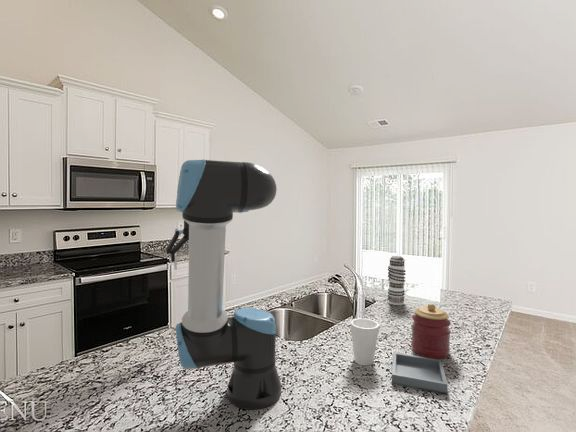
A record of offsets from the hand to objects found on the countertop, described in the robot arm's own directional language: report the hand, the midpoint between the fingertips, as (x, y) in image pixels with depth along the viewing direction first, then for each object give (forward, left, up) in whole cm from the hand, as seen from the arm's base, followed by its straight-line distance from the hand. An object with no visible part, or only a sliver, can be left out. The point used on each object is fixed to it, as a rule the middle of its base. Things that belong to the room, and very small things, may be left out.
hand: (193, 266), depth 130 cm
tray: (-2, -85, -27) cm, 89 cm away
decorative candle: (+73, -77, -28) cm, 110 cm away
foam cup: (+2, -68, -28) cm, 74 cm away
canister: (+18, -90, -28) cm, 96 cm away
